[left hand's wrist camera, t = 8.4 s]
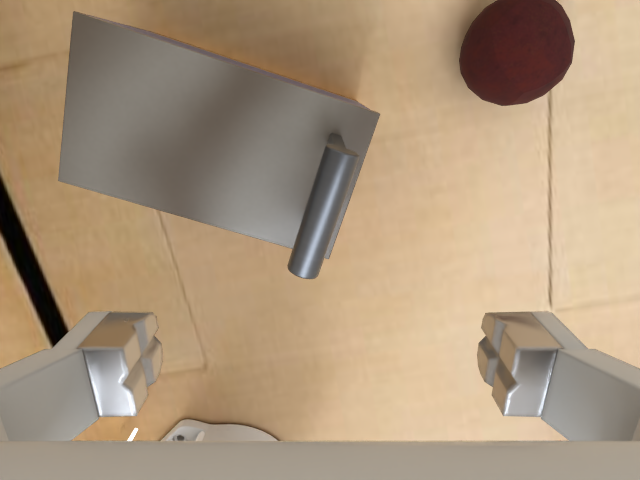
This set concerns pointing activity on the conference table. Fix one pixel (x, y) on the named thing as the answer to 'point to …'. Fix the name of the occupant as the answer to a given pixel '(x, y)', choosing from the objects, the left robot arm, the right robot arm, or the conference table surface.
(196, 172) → the lid
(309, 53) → the conference table surface
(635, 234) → the conference table surface
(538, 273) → the conference table surface
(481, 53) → the dark red ball
